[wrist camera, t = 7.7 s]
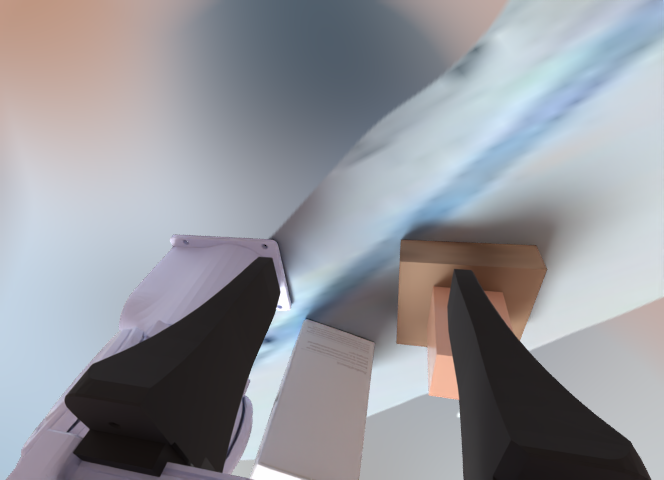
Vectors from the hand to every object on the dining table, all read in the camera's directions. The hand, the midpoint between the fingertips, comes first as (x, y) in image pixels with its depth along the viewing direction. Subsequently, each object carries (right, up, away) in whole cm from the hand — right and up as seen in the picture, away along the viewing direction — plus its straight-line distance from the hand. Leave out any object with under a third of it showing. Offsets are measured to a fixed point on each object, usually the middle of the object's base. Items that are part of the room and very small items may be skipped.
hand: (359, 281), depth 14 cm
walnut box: (+9, -2, +13) cm, 16 cm away
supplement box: (-1, -9, +21) cm, 23 cm away
